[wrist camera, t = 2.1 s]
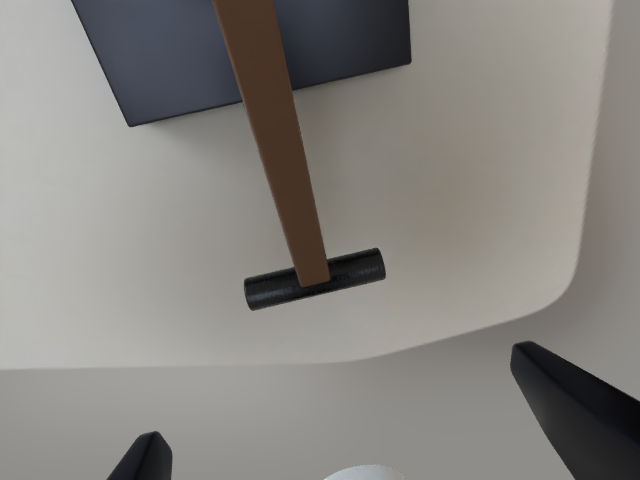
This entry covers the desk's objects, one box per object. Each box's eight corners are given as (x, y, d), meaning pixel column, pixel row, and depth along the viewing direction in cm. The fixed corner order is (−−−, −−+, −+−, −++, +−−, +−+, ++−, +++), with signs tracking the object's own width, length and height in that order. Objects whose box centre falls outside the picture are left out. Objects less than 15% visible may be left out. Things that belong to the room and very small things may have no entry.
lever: (372, 250, 15) (391, 298, 13) (251, 279, 14) (254, 331, 13) (319, -569, 4) (377, -865, 3) (-103, -488, 4) (-326, -739, 2)
